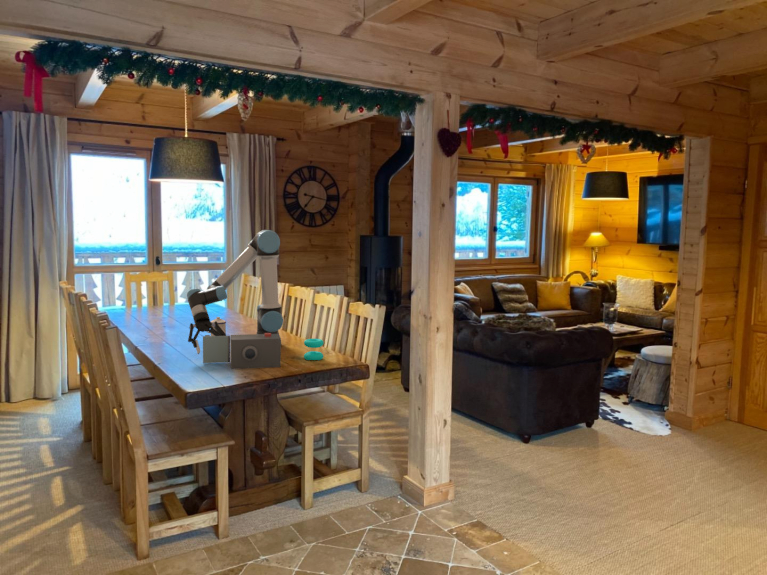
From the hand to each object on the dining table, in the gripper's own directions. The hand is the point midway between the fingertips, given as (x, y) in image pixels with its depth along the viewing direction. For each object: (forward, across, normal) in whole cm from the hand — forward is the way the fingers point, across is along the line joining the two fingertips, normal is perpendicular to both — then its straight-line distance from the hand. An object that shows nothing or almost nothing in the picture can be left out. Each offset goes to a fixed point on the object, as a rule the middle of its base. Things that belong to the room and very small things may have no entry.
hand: (211, 351), depth 301 cm
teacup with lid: (-38, -24, -46) cm, 64 cm away
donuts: (+17, -47, +10) cm, 51 cm away
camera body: (+16, -15, +9) cm, 24 cm away
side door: (+5, -2, -2) cm, 6 cm away
